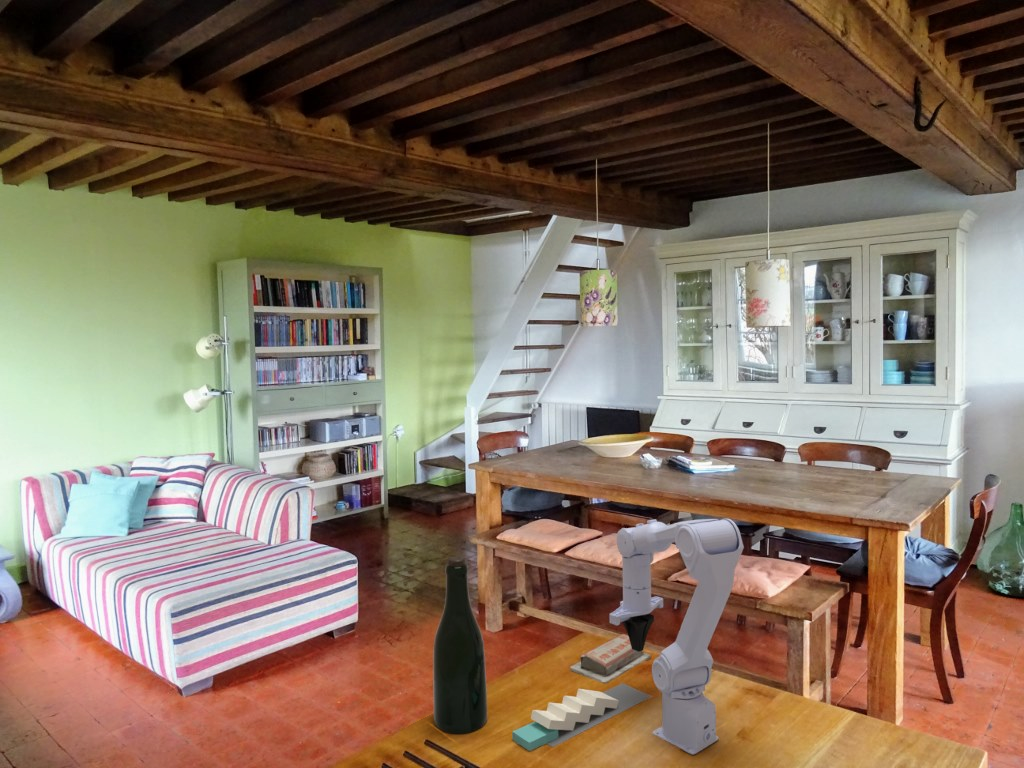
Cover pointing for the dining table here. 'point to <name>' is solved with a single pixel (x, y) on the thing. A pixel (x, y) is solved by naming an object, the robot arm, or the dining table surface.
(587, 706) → the domino
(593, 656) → the packaged product
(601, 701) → the domino
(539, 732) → the domino
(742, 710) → the dining table surface
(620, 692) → the mat
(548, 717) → the domino
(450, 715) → the beer bottle
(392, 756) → the dining table surface
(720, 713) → the dining table surface
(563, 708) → the domino
